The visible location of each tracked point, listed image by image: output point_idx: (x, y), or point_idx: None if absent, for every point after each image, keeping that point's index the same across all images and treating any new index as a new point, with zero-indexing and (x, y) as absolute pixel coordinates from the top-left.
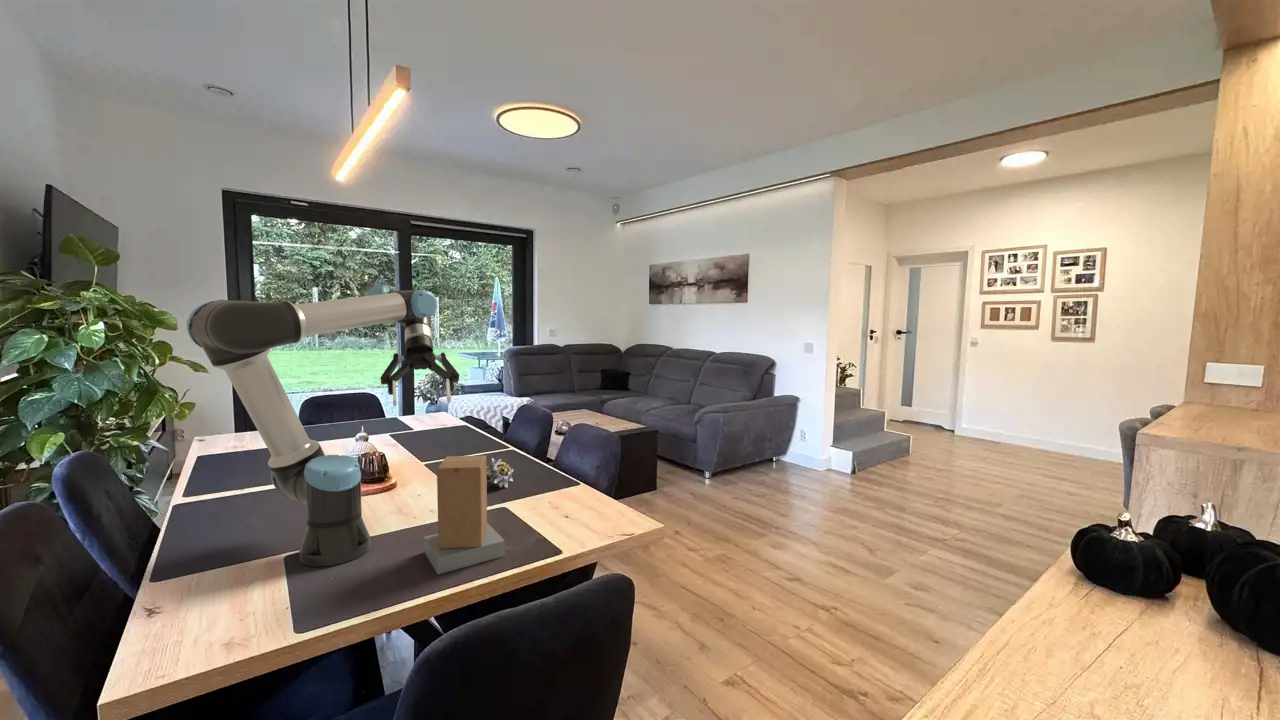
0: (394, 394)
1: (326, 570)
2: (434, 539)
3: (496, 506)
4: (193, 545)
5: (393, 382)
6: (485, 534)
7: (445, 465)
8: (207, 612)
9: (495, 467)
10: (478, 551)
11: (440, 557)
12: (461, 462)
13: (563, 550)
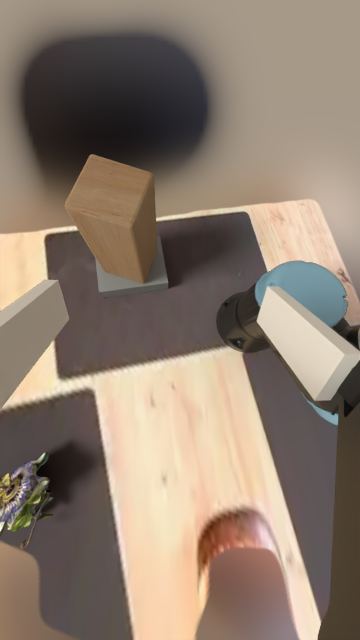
0: (288, 298)
1: (246, 289)
2: (158, 272)
3: (69, 384)
4: None
5: (346, 343)
6: None
7: (140, 178)
8: (308, 260)
9: (21, 492)
10: None
11: (156, 235)
12: (113, 182)
13: (42, 238)
